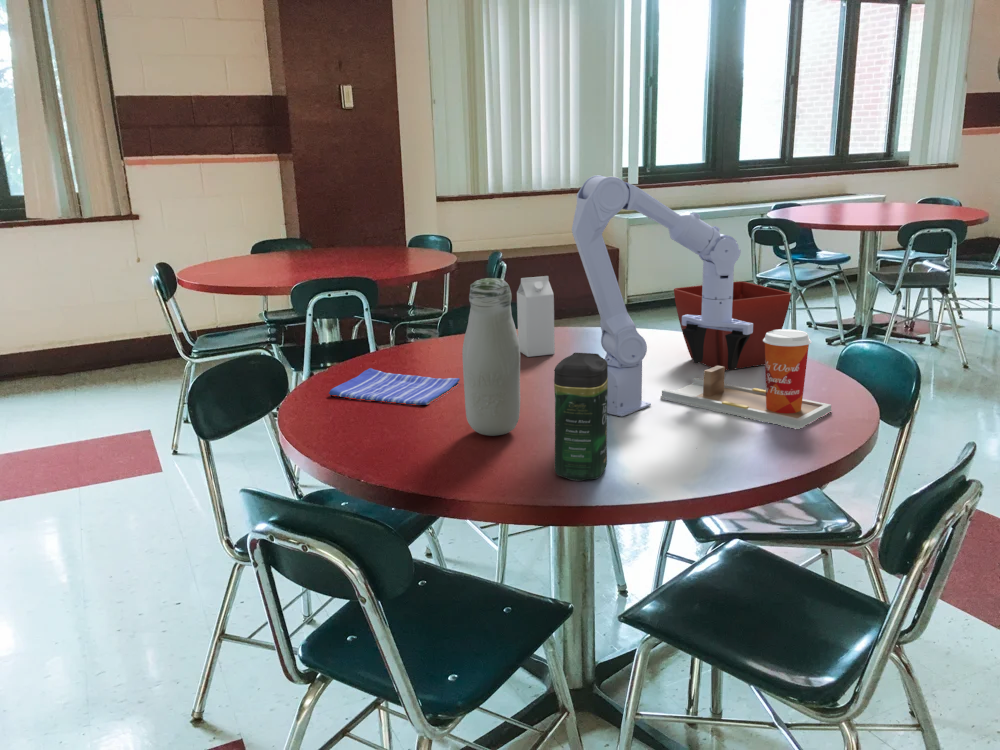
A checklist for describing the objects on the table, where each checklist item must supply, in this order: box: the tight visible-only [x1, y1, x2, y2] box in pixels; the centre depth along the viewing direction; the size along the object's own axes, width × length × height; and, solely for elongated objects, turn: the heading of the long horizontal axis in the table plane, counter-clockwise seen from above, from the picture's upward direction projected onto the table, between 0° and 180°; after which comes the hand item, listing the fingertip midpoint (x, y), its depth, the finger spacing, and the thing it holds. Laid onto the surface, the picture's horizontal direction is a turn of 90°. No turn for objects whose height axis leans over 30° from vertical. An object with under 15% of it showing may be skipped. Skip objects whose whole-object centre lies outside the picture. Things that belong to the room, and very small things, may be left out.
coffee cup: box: [763, 328, 813, 413], centre depth 148 cm, size 8×8×15 cm
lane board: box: [660, 377, 833, 430], centre depth 156 cm, size 13×29×2 cm, turn 44°
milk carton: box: [516, 275, 556, 358], centre depth 199 cm, size 7×7×19 cm
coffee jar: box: [553, 352, 608, 482], centre depth 125 cm, size 10×8×19 cm
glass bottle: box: [461, 277, 521, 437], centre depth 142 cm, size 10×10×28 cm
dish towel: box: [328, 367, 461, 406], centre depth 174 cm, size 17×24×3 cm
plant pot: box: [673, 281, 792, 371], centre depth 185 cm, size 19×19×17 cm
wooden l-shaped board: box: [697, 366, 819, 418], centre depth 154 cm, size 9×21×6 cm, turn 44°
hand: (714, 365), depth 159 cm, fingers open, 7 cm apart
